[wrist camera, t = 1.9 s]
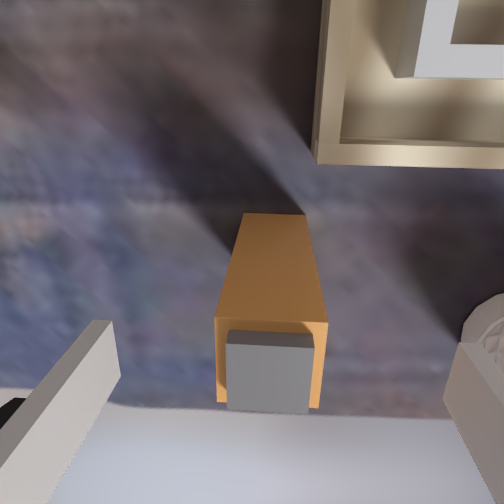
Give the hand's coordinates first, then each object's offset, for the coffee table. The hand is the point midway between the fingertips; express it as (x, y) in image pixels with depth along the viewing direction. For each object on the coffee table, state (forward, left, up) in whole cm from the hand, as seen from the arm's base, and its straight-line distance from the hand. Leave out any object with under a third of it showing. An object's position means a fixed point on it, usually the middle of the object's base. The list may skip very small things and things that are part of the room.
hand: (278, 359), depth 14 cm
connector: (0, 0, -12) cm, 12 cm away
